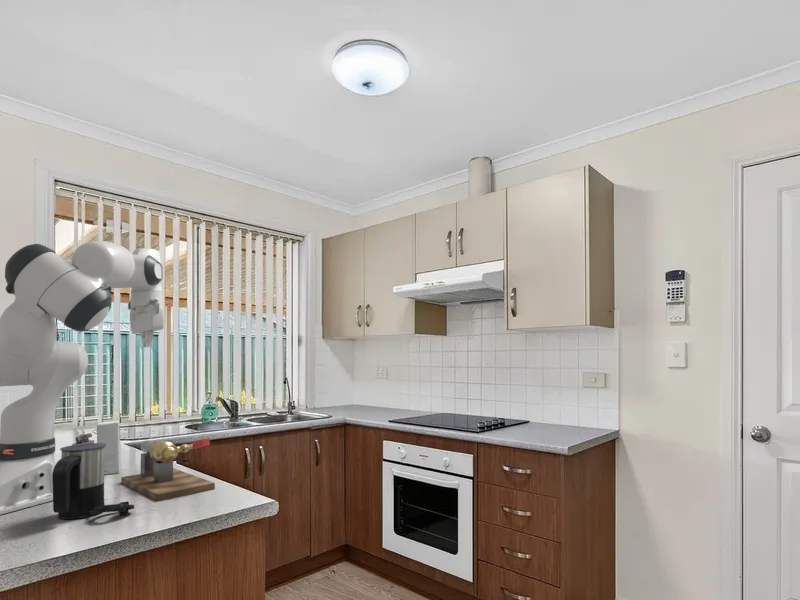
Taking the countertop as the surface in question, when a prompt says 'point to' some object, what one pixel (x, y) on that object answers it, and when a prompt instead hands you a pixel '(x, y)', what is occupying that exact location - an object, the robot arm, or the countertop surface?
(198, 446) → the valve lever
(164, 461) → the valve rig
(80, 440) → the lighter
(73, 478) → the milk frother
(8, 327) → the robot arm
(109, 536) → the countertop surface
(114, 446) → the skincare box
